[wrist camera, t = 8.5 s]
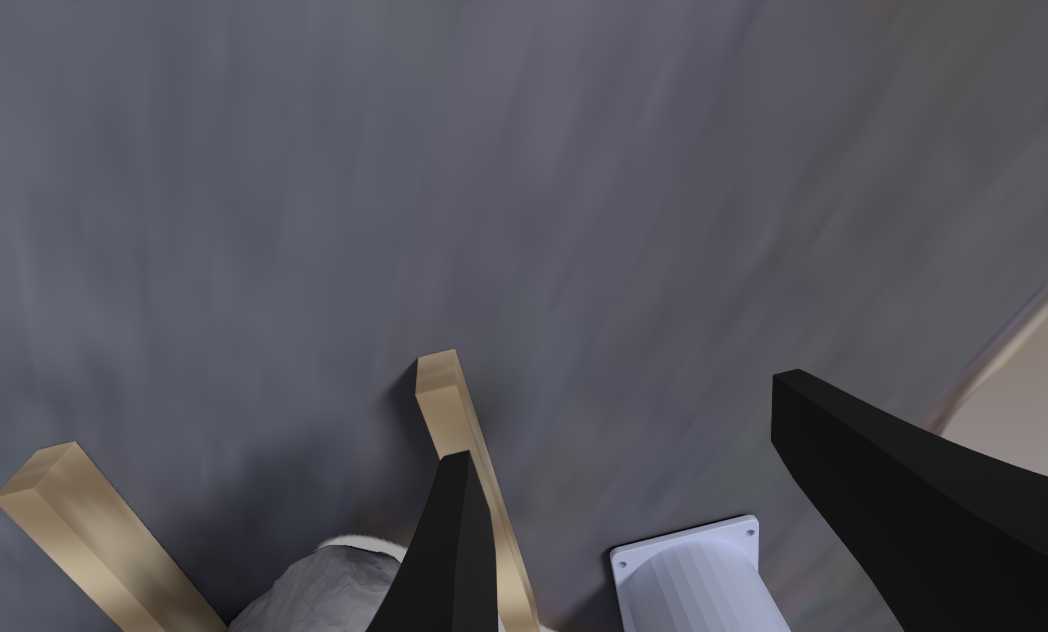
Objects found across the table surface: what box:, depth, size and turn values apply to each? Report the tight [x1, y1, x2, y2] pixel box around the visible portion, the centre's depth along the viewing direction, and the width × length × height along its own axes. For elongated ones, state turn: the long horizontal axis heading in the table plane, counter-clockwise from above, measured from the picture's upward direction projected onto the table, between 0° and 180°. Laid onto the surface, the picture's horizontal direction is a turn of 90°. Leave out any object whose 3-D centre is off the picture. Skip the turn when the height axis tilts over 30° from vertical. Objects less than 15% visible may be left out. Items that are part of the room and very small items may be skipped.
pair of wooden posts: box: [0, 349, 540, 632], centre depth 25 cm, size 17×17×2 cm
